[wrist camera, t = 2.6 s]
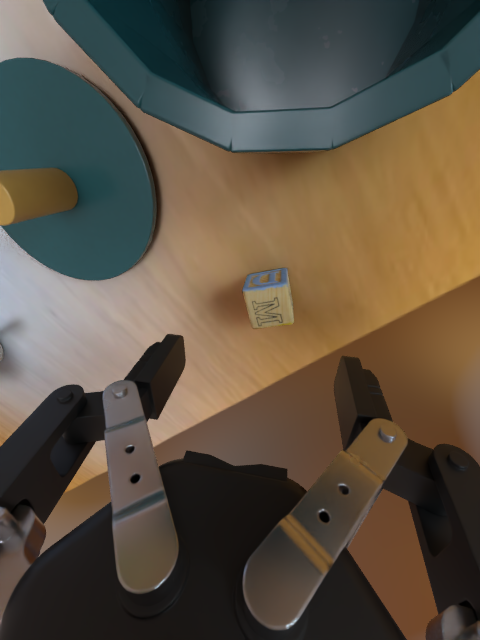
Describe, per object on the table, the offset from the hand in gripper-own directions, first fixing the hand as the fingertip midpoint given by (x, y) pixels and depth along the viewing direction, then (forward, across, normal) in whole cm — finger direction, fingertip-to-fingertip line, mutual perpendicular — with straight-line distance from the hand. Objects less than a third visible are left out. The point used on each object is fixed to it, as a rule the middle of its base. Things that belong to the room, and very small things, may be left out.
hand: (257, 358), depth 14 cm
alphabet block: (+8, 0, 0) cm, 9 cm away
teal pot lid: (+8, +15, -7) cm, 18 cm away
